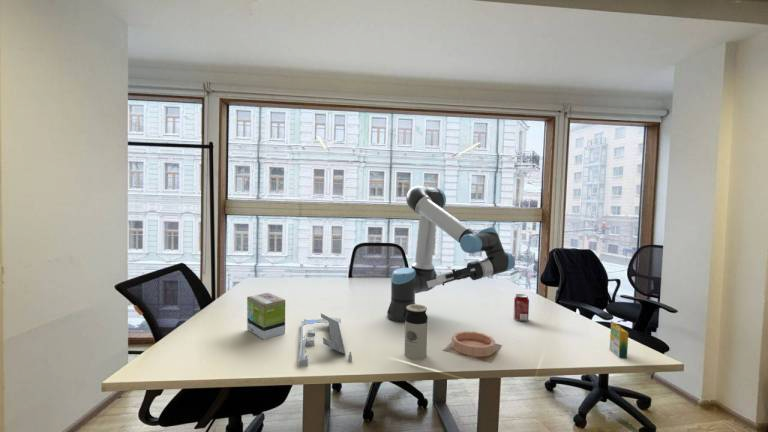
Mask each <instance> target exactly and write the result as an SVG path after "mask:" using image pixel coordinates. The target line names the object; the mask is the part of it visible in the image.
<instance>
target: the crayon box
mask: <svg viewBox="0 0 768 432" xmlns="http://www.w3.org/2000/svg"><path fill="white" fill-rule="evenodd" d="M609 337H610V339H609V350H610V351H611V352H612V353H613V354H614V355H615V356H616V357H618V358H619V359H620V358H621V359H628V345H629V344H628V343H629V332H628V331H627V330H625V329H624V328H623V327H621V325H619V324H617V323H616V322H614V321H612V320H611V321H610V336H609Z"/></svg>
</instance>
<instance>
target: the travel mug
mask: <svg viewBox="0 0 768 432" xmlns="http://www.w3.org/2000/svg"><path fill="white" fill-rule="evenodd" d="M406 308H407V314H406V316H405V322H404V325H405V326H404V328H405V329H404V354H403V355H404V357H405V358H408V359H410V360H412V361H415V360H416V361H420V360H424V359H426V358H427V352H428V351H427V349H428V348H427V347H428V315H427V310H428V308H427V307H426V305H422V304H416V303H415V304H413V305H408V306H407V307H406Z"/></svg>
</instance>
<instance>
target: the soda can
mask: <svg viewBox="0 0 768 432" xmlns="http://www.w3.org/2000/svg"><path fill="white" fill-rule="evenodd" d="M529 306H530V299H529V297H528V295H527V294H523V293H522V294H521V293H517V294H515V297H514V298H513V318H514V320H516V321H519V322H526V321H529V313H530V312H529V310H530V309H529V308H530V307H529Z"/></svg>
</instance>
